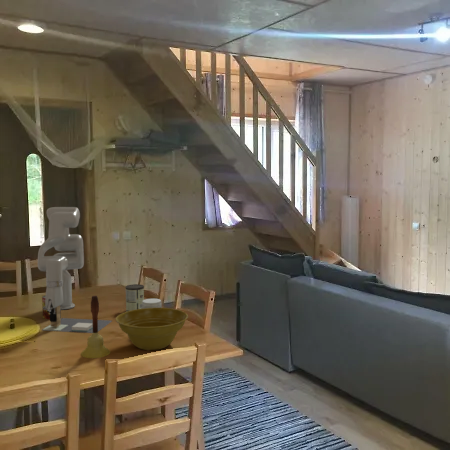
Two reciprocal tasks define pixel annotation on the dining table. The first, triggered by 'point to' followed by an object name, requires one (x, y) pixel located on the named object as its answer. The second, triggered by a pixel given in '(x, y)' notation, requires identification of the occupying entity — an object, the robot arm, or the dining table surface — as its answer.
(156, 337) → the planter bowl
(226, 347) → the dining table surface
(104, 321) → the mat
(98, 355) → the handbell
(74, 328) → the tile
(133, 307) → the coffee can
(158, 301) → the supplement tub
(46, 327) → the pad
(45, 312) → the canned food
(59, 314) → the tan wooden block
